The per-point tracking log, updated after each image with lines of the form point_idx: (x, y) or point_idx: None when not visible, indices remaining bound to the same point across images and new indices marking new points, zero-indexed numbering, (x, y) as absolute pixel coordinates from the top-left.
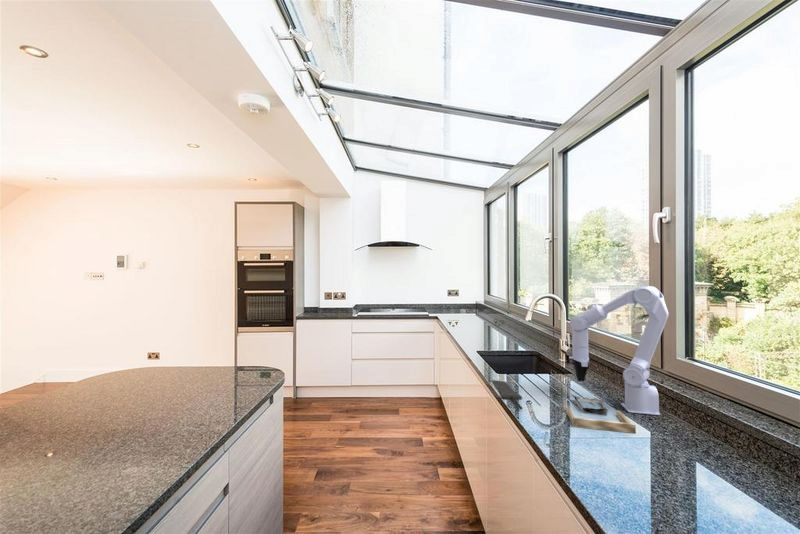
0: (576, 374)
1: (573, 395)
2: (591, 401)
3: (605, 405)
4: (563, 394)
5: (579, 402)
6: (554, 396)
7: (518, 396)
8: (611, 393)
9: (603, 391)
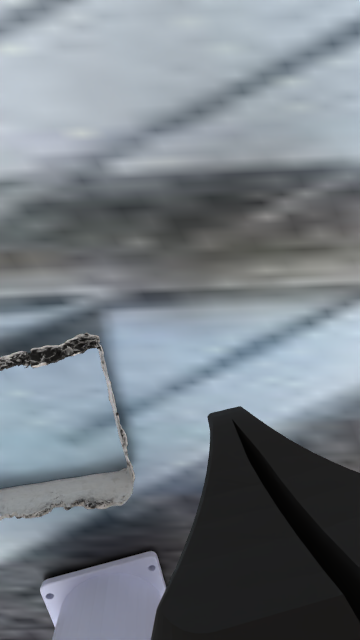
0: (248, 434)
1: (98, 340)
2: (117, 428)
3: None
4: (192, 268)
5: None
6: (116, 209)
7: None
8: None
9: None
